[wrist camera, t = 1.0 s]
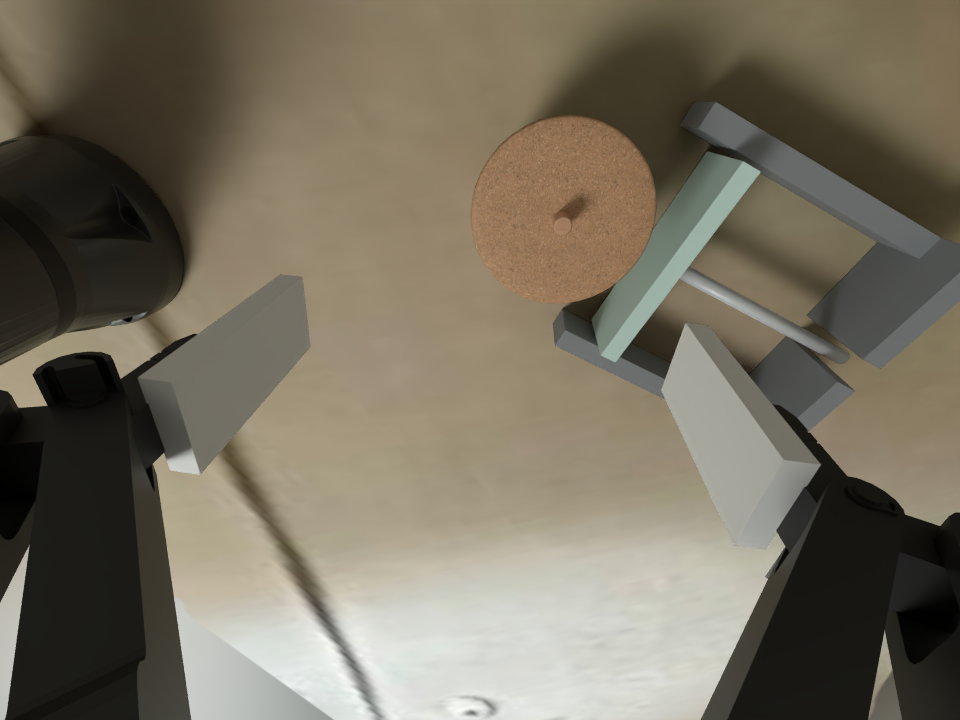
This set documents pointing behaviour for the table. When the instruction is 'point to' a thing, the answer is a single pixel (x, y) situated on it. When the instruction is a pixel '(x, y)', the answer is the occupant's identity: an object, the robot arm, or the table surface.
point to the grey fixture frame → (845, 309)
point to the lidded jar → (563, 209)
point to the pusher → (689, 262)
